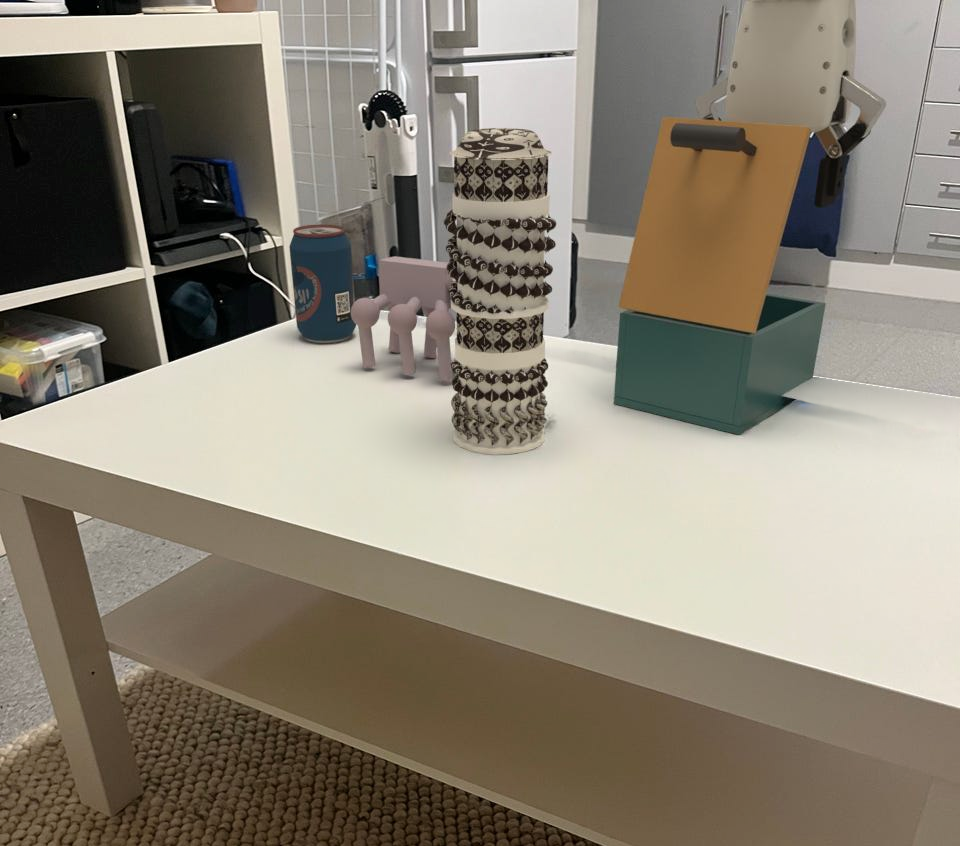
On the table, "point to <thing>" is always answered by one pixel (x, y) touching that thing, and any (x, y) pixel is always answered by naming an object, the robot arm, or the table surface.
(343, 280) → the soda can
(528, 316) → the decorative candle
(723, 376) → the teal open box
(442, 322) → the pink pegged block
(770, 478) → the table surface
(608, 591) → the table surface
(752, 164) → the lid
